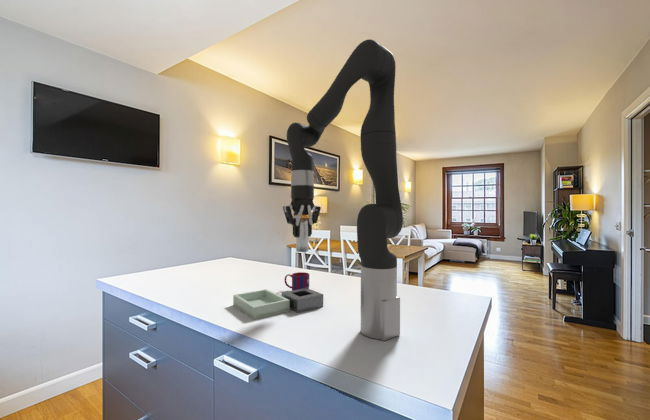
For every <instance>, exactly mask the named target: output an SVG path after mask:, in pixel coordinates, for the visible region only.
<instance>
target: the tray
mask: <svg viewBox="0 0 650 420" xmlns="http://www.w3.org/2000/svg"><path fill="white" fill-rule="evenodd" d="M232 301H233V303H232V305H233V306H234V307H236V308H237V309H239V310H240V312H241V311H242V313H244V314H245V315H247V316H248V317H250V318H251V319H252V320H256V319H261V318H265V317H268V316H274V315H277V314H282V313H286V312H290V311H291V309H290V300H289V299H286V298H284V297H282V296H281V294H280V295H279V294H278V293H275V292H273V291H272V290H269V289H267V288H266V289H260V290H259V289H258V290H253V291H247V292H243V293H237V294H233V300H232Z"/></svg>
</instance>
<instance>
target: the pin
mask: <svg viewBox="0 0 650 420" xmlns="http://www.w3.org/2000/svg"><path fill="white" fill-rule="evenodd" d="M295 216H297V215H295ZM308 218H310V215H301V219H300V221H299V225H298V226H299V237H295V240H296V242H295V247H296V248H295V250H296V252H297V253H305V252H306V253H307V252H309V237H308Z"/></svg>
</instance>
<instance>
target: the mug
mask: <svg viewBox="0 0 650 420" xmlns="http://www.w3.org/2000/svg"><path fill="white" fill-rule="evenodd" d="M287 277H290V278H291V285H289V284H288V283H287ZM284 284H285V285H286V286H287V288H290V289H291V291H293V290H298V289H303V288H308V289H310V273H308V272H304V271H303V272H302V271H301V272H293V273H292V274H290V273H288V274H286V275H285V276H284Z"/></svg>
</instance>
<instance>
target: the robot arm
mask: <svg viewBox="0 0 650 420" xmlns="http://www.w3.org/2000/svg"><path fill="white" fill-rule="evenodd" d="M361 79H362V80H364V81H365V82H368V86H369V95H370V96H369V102H370V104H369V108H368V110H367V113H366V115H365V117H364V119H363V122H362V125H361V129H360V134H359V135H360V151H361V158H362V162H363V163H364V166H365V168H366V170H367V173H368V174H369V176H370V179H371V182H372V184H373V187H374V193H375V194H374V195H375V203H367V204H365V205H364V206H362V208H360V210H359V212H358V215H357V219H356V235H357V236H356V238H357V239H356V240H357V253H358V256H359V258H360V332H361V334H362V335H363V336H365V337H367V338H370V339H376V340H381V341H383V342H384V341H385V342H386V341H388V340H390V339H392V338H395V337H399V336H400V335H401V297H400V296H398V258H397V255H396V254H394V253H392V252H391V251H390V250H389V249H388V239H389V240H390V239H394V238H396V237H397V236H398V235H399V234H400V232H401V231H402V230H403V229H402V228H403V225H404V216H403V207H402V202H401V201H402V200H401V196H400V188H399V177H398V163H397V162H398V161H397V159H398V158H397V136H396V135H397V134H396V122H395V121H396V117H395V85H396V60H395V56H394V54H393V53H392V52H391V51H390V50H389V49H388V48H386V47H385V46H384V45H382V44H380V43H379V42H378V41H376V40H374V39H365V40H363V41H362V42H360V43H359V44H358V45H356V47H354V49H353V51H352V52H351V54H350V55H349V57H348V58H347V60H346V62H345V63H344V64H343V66H342V68H341V69H340V71H339V72H338V74H337V75H336V77H335V79H334V80H333V82H332V83H331V84H330V86H329V88H328V89H327V91H326V92H325V93H324V94H323V95H322V97H321V98H320V99H319V100H318V101H317V103H316V104H315V105H314V106H313V107H312V108H311V109H310V110H309V112H308V113H307V115H306V120H307V121H306V122H307V124H303V123H301V122H292V123H291V124H290V125H289V126H288V128H287V131H286V142H287V145H288V149H289V153H290V157H291V176H290V177H291V178H290V198H291V202H290V204H289V205H284V206H282V210H283V212H284V216H285V220H286V223H287V224H289V225H291V227H292V236H293V238H296V237H299V226H298V225H299V221H300V219H301V215H310V218H308V238H309V237H311V236H312V233H313V230H312V229H313V227H312V226H313V225H314V224H317V223H318V221H319V220H318V219H319V216H320V213H321V210H322V209H321V208H322V207H321V206H318V205H315V203H314V198H315V196H314V195H315V192H314V191H315V188H314V187H315V186H314V184H315V178H314V157H313V154H311V153H309V152H308V151H306V149H305V148H311V147H314V146H315V145H317V143H318V142H319V140H320V139H321V136H322V134H323V133H324V131H325V129H326V128H327V127H328V126H329V125H331V123H332V122H333V121H334V120H335V119H336V118H337V116H338V115H340V112H342V109H343V105H344V103H345V98H346V96H347V94H348V93H349V91H350V89H352V87H353V86H354V85H355V84H357V83H358V81H360V80H361ZM292 211H293V213H292ZM295 215H297V216H295Z"/></svg>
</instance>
